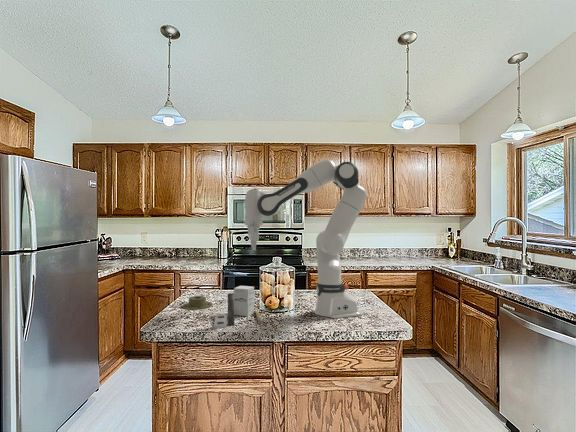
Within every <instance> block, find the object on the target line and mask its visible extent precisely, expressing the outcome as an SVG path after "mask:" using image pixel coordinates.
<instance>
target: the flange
mask: <svg viewBox="0 0 576 432" xmlns="http://www.w3.org/2000/svg"><path fill="white" fill-rule="evenodd" d="M212 307H213V302H209V301H207V296H204V295H195V296H189V297H188V302H187V303H186V302H185V303H184V304H182V305H181V308H182V309H184V310H187V311H188V310H189V311H197V310H198V311H199V310H205V309H210V308H212Z"/></svg>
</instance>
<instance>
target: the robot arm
mask: <svg viewBox="0 0 576 432" xmlns="http://www.w3.org/2000/svg"><path fill="white" fill-rule="evenodd" d="M358 169H359V168H358V167H357V166H356V164H355V163H353V162H351V161H343V162H340V163H339V164H338V165H336V163H335V162H334V161H333V160H331V159H327V158H326V159H323V160H320V161H319V162H316V163H314V164H313V165H311V166H310V167H308V168H307V169H305V170H304V171H303V172H301V173H300V174H299V175H298V176H297V177H296V178H295V179H294V180H293V181H291V182H289V183H288V184H287V185H285V186H284V187H282V188H281V189H278V190H277V191H275V192H273V193H266V192H265V191H264V190H262V189H261V188H254V189H248V191H246V193H245V196H244V197H245V198H244V209H245V214H244V226H247V227H246V228H247V235H248V239H249V240H250V249H251V250H252V251H256V250H257V242H259V240H260V239H259V238H260V234H259V233H260V232H259V230H260V229H261V226H263V223H264V221H263V220H264V219H263V217H264V216H266V217H268V216H275V215H277V214H279V213H280V211H281V210H282V206H283V204H285V203H286V202H288V201H289V200H291V199H292V198H294V197H296V196H298V195H301V194H309V193H312V192H313V191H316V190H318V189H320V188H321V187H323V186H324V185H327V184H328V183H330V182H332V183H333V184H334V185H336V186H337V187H338V189H341V190H343V193H342V195H341V198H340V199H339V201H338V203H337V204H336V206H335V207H334V210H333V211H332V214H331V216H330V218H329V220H328V223H327V225H326V227H325V229H324V230H322V231H321V232H319V234H318V235H317V237H316V238H315V239H316V240H315V242H316V248H315V249H316V260H317V262H316V263H317V283H316V295H317V297H316V304H315V308H314V314H315V315H317V316H322V317H327V318H331V319H341V318H350V317H359V316H363V311H362V309H360V308H359V307H358V302H357V300H356V298H354V297H353V296H352V295H351V294H350V293H348V292H347V291H346V290H348V289H349V285H347V284H344V283H342V265H341V258H340V256H341V255H340V254H341V252H342V251H343V250H344V246H345V245H346V242H347V239H348V237H349V234H350V232H351V229H352V228H353V226H354V224H355V222H356V220H357V218H358V216H359V215H360V213H361V211H362V209H363V207H364V204H365V203H366V199H367V196H368V193H367V190H366V189H365V188H364V187H363V186H361V185H360V184H359V180H360V179H359V170H358Z"/></svg>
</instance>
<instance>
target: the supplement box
mask: <svg viewBox="0 0 576 432" xmlns="http://www.w3.org/2000/svg"><path fill="white" fill-rule="evenodd" d="M233 293H234V316H243V317H249V316H251V315H253V314H254V313H255V286H250V285H249V286H248V285H239V286H236V287H234V288H233ZM252 313H253V314H252Z"/></svg>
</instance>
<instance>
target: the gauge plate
mask: <svg viewBox="0 0 576 432" xmlns="http://www.w3.org/2000/svg"><path fill="white" fill-rule="evenodd" d="M213 323H214V324H213V328H214V329H220V328H221V329H224V328H225V329H226V328H227V324H228V314H215V316H214V322H213Z"/></svg>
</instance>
